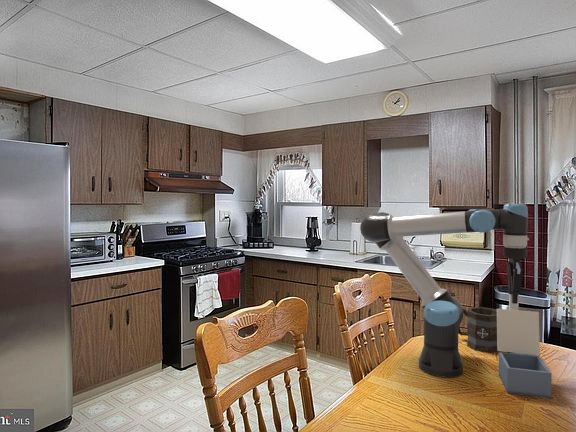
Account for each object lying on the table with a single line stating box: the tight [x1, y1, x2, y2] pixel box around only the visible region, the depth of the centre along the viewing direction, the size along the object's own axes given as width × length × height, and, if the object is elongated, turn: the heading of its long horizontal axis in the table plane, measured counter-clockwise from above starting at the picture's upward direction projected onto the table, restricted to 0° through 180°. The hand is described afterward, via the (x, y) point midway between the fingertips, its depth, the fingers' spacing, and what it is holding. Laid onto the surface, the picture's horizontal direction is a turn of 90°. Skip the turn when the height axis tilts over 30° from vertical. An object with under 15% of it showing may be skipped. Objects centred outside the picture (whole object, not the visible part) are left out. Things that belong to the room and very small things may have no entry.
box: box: [497, 351, 553, 400], centre depth 129 cm, size 12×14×8 cm
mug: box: [458, 306, 502, 354], centre depth 166 cm, size 20×14×15 cm
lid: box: [496, 308, 541, 356], centre depth 136 cm, size 13×14×1 cm
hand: (513, 311), depth 142 cm, fingers closed
